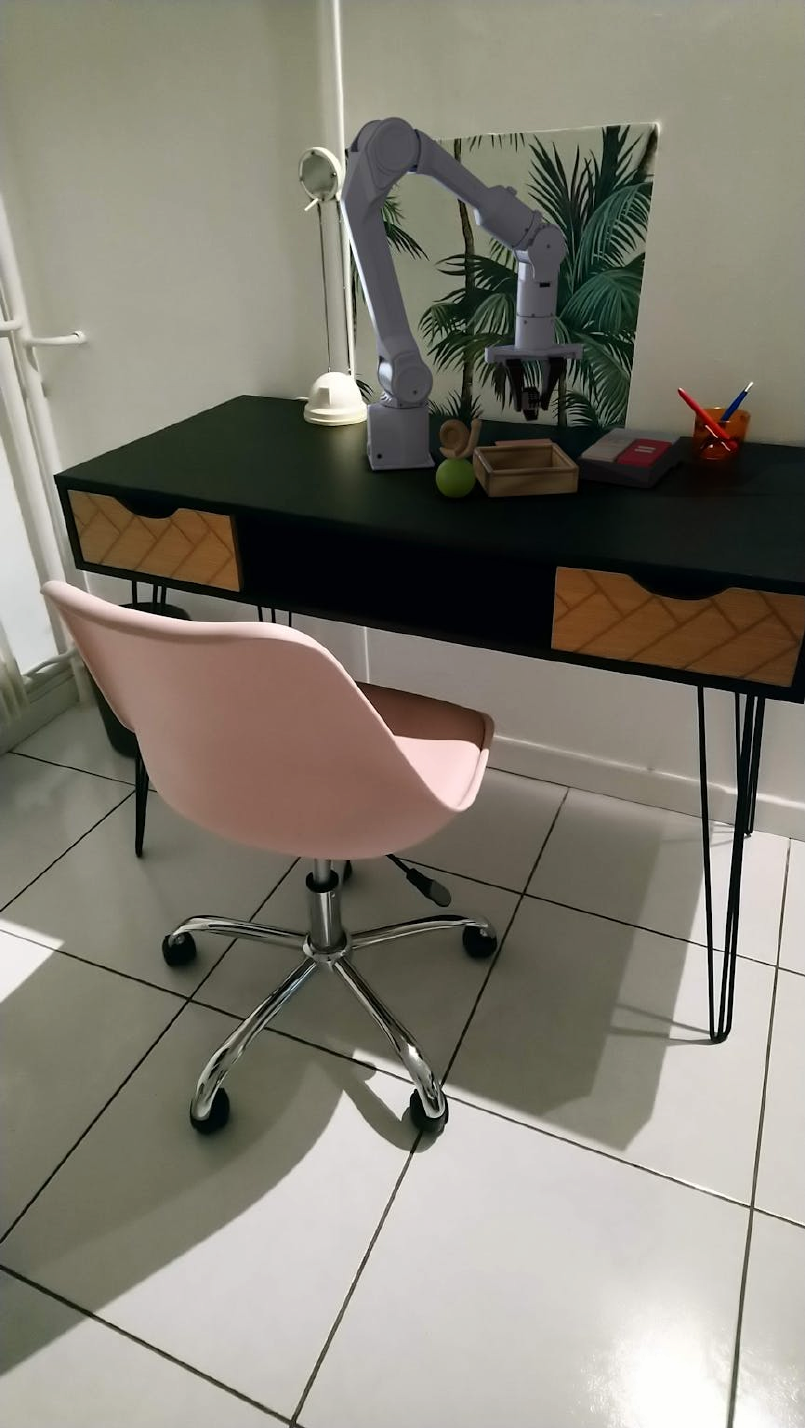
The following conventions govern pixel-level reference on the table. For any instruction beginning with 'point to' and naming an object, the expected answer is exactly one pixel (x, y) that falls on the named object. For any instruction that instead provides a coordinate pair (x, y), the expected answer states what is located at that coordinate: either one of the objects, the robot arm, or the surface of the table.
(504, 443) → the coaster
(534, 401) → the smartwatch
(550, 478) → the wooden box
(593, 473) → the grey and red box
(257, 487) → the table surface
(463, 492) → the snail figurine
